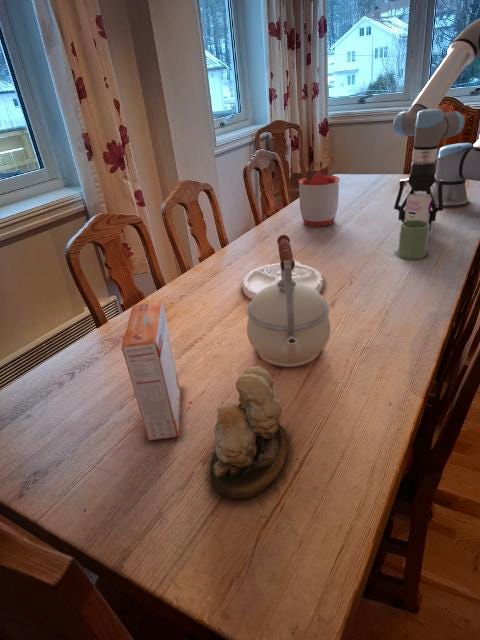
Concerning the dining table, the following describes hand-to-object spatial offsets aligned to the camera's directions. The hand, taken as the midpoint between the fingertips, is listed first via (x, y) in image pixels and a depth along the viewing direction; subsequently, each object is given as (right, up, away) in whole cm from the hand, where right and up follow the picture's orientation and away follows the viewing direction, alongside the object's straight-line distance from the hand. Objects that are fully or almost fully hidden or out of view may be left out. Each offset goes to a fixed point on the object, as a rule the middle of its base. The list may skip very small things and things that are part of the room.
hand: (415, 229), depth 151 cm
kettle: (-51, -40, -54) cm, 84 cm away
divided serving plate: (-49, -21, -23) cm, 58 cm away
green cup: (-6, -11, -13) cm, 18 cm away
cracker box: (-76, -50, -68) cm, 114 cm away
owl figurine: (-60, -55, -79) cm, 114 cm away
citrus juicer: (-30, +8, +23) cm, 39 cm away
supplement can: (0, -2, +1) cm, 2 cm away
